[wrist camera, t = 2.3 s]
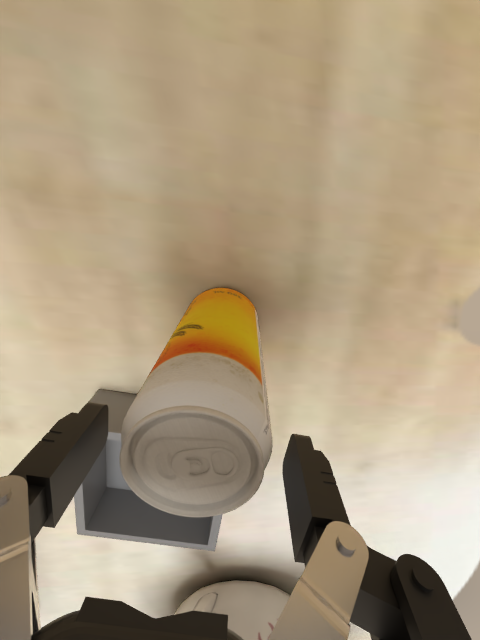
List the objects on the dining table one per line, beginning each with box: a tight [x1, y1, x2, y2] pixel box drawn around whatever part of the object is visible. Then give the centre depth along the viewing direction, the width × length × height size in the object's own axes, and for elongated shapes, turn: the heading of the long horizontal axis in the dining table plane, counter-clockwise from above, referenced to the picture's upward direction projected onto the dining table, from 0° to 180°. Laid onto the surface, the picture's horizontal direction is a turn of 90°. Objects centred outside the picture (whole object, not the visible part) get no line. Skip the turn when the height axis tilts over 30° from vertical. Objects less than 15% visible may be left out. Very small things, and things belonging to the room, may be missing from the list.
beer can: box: [119, 288, 272, 517], centre depth 17 cm, size 6×6×15 cm
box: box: [74, 389, 222, 551], centre depth 27 cm, size 14×14×5 cm
